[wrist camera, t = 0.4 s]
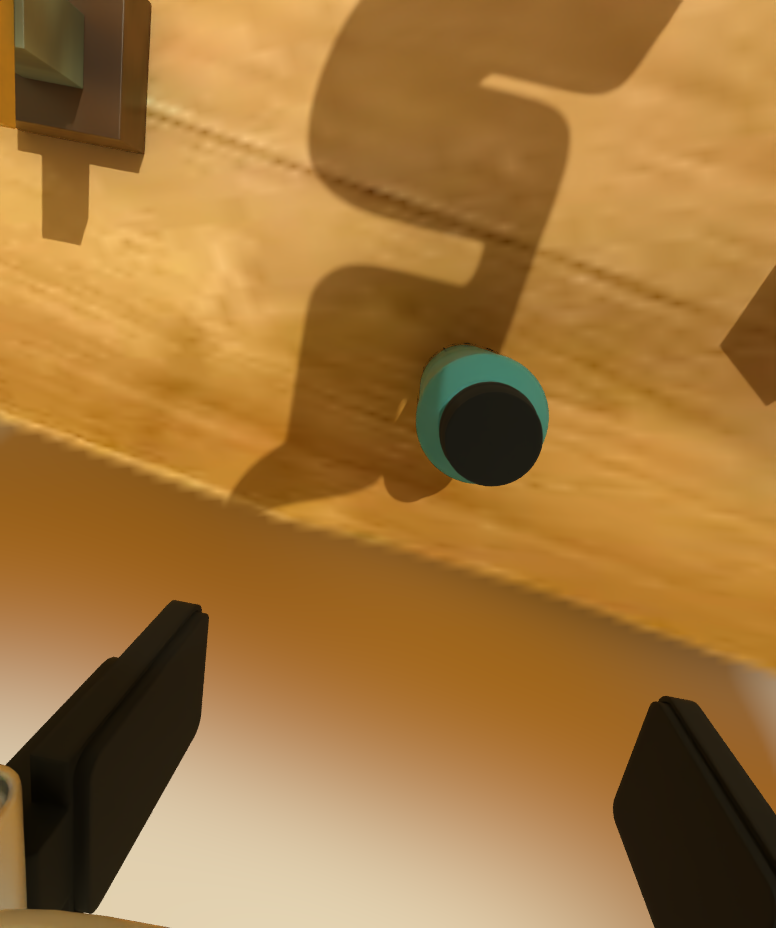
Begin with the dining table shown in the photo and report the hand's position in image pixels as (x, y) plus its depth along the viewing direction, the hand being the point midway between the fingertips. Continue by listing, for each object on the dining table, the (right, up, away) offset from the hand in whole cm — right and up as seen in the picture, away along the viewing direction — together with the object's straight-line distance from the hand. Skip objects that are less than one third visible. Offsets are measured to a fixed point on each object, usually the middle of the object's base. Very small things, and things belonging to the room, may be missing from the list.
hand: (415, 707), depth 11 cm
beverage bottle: (+5, +11, +28) cm, 31 cm away
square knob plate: (-21, +32, +24) cm, 46 cm away
